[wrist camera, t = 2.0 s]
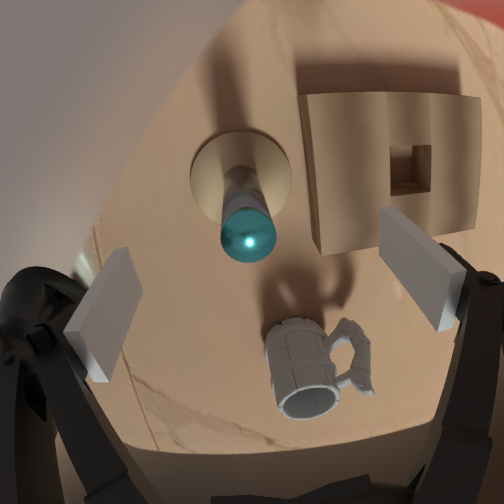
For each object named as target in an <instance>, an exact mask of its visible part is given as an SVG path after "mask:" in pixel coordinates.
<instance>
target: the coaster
mask: <svg viewBox="0 0 504 504" xmlns="http://www.w3.org/2000/svg"><path fill="white" fill-rule="evenodd" d="M238 165H245V166H248V167H250V168H252V169H253V170H254V171H255V172H256V174H257V177H258V179H259V182H260V185H261V188H262V191H263V194H264V197H265V200H266V203H267V206H268V209H269V212H270V215H271V218H272V217H274V216H275V215H276V214H277V213H278V212H279V211H280V210H281V208H282V207H283V206H284V204H285V202H286V200H287V199H288V196H289V193H290V189H291V182H292V178H291V170H290V166H289V163H288V160H287V158H286V156H285V155H284V153H283V152H282V150H281V149H280V148H279V147H278V146H277V145H276V144H275V143H274V142H272V141H271V140H270V139H268V138H266V137H265V136H262V135H260V134H257V133H254V132H248V131H235V132H229V133H226V134H223V135H220V136H218V137H216V138H215V139H213V140H212V141H210V142H209V143H208V144H207V145H206V146H205V147H204V148H203V149H202V150H201V151H200V153H199V154H198V156H197V158H196V159H195V162H194V164H193V167H192V171H191V190H192V194H193V197H194V199H195V202H196V203H197V205H198V207H199V208H200V209H201V210H202V212H203V213H204V214H205V215H206V216H207V217H209V218H210V219H211V220H213V221H215V222H217V223H218V224H221V222H222V206H223V191H224V179H225V175H226V173H227V172H228V171H229V170H230V169H231V168H233V167H235V166H238Z"/></svg>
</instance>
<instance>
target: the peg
mask: <svg viewBox="0 0 504 504" xmlns="http://www.w3.org/2000/svg"><path fill="white" fill-rule="evenodd" d="M275 243H276V230H275V227H274V224H273V221H272V218H271V215H270V212H269V209H268V206H267V203H266V200H265V197H264V194H263V191H262V188H261V185H260V182H259V179H258V177H257V174H256V172H255V171H254V170H253V169H252V168H250V167H248V166H245V165H238V166H235V167H233V168H231V169H230V170H229V171H228V172H227V173H226V175H225V179H224V191H223V206H222V222H221V244H222V247H223V249H224V251H225V252H226V253H227V254H228V255H229V256H230V257H231V258H233V259H235V260H237V261H240V262H245V263H250V262H256V261H259V260H261V259H263V258H265V257H266V256H267V255H268V254H269V253H270V252H271V251H272V250H273V248H274V246H275Z"/></svg>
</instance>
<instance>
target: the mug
mask: <svg viewBox="0 0 504 504" xmlns="http://www.w3.org/2000/svg"><path fill="white" fill-rule="evenodd" d="M341 342H347V343H350V344H352V346H353V349H354V351H355V354H354V358H353V360H352V364H351V366H350V367H351V368H350V369H349V370H348V371H347V372H345V373H344V374H342V375H339V376H337V371H336V366H335V364H334V363H333V362H332V361H331V359H330V356H329V353H331V352H332V351H333V350H334V349H335V348H336V347H337V346H338V345H339V344H340V343H341ZM370 346H371V343H370V340H369V339H368V338H367V337H366V336H365V334H364V332H363V330H362V329H361V327H360V326H359V325H358V324H357V323H356V322H355V321H353V320H351V321H350V320H348V319H347V318H345V317H344V318H341V320H340V321H339V323H338V325H337V327H336V328H335V330H334V331H333V332H332V333H331V334H330V335H329V336H328V337H327V334H326V333H325V332H324V331H323V330H322V329H321V327H320V326H319V325H318V324H317V323H316V322H315V321H313V320H310V319H308V318H306V319H303V318H302V317H295V318H290V319H286V320H283V321H282V324H277V325H275V326H274V327H273V328H272V329H271V330H270V331H269V332H268V334H267V336H266V340H265V345H264V357H265V360H266V362H267V364H268V365H269V367H270V371H271V389H272V392H273V394H274V395H275V396H276V401H277V406H278V410H279V412H281V414H282V415H284V416H285V417H286V418H289V419H292V420H309V419H314V418H317V417H319V416H320V415H324V414H326V413H328V412H329V411H331V410H332V409H333V408H334V407H335V406H336V405H337V404H338V402H339V399H340V391H339V389H341V388H343V387H346V386H348V385H349V384H351V383H352V384H353V386H354V387H355V389H356V390H357V391H358V392H359V393H361V394H363V395H365V396H374V390H373V388H372V385H371V379H370V376H371V369H370V358H371V357H370ZM319 414H320V415H319Z"/></svg>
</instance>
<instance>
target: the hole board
mask: <svg viewBox="0 0 504 504" xmlns="http://www.w3.org/2000/svg"><path fill="white" fill-rule="evenodd" d="M298 102H299V109H300V117H301V125H302V133H303V142H304V151H305V160H306V169H307V179H308V190H309V201H310V213H311V225H312V239H313V241H314V243H315V245H316V247H317V249H318V251H319V253H320V254H321V256H325V255H331V254H337V253H343V252H349V251H355V250H360V249H366V248H372V247H377V246H379V238H380V207H387V206H394V207H395V208H396V209H398V210H399V211H400V212H401V213H403V214H404V215H405V216H406V217H407V218H409V219H410V220H411V221H412V222H414V223H415V224H416V225H417V226H418V227H420V228H421V229H422V230H423V231H424V232H425V233H427V234H428V235H429V236H430V237H433V236H438V235H444V234H449V233H455V232H460V231H465V230H470V229H475V223H476V215H477V207H478V197H479V187H480V173H481V151H482V115H481V98H479V97H471V96H463V95H454V94H441V93H426V92H401V91H360V92H334V93H317V94H305V95H298ZM412 145H413V182H403V183H394V184H390V147H393V146H412Z"/></svg>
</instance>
